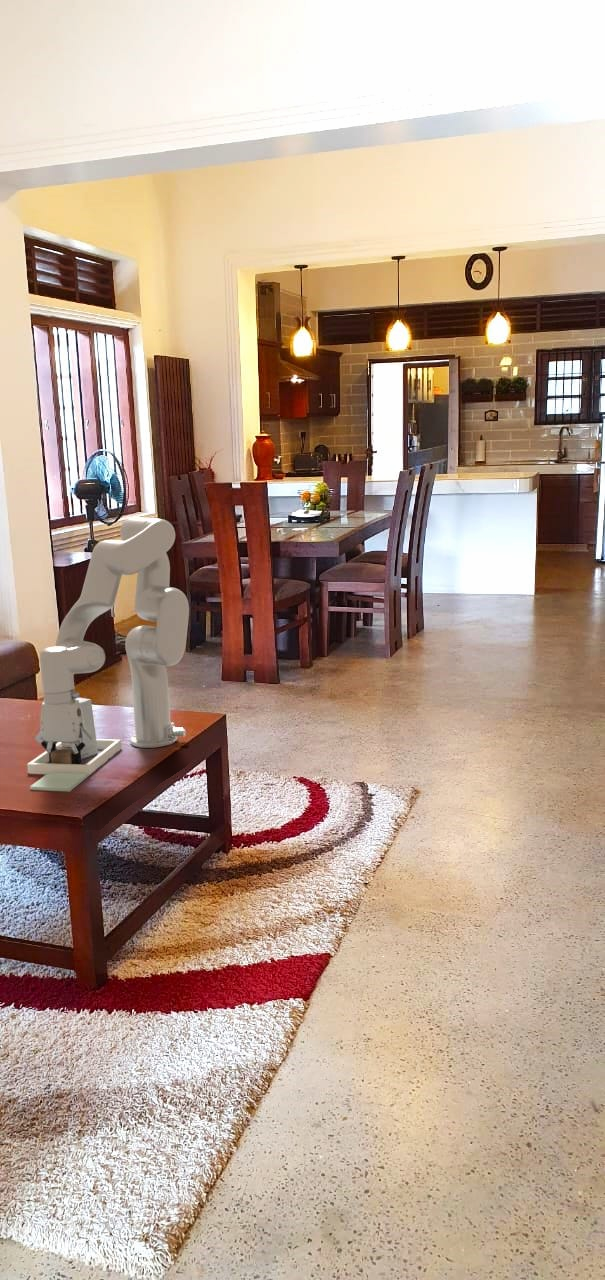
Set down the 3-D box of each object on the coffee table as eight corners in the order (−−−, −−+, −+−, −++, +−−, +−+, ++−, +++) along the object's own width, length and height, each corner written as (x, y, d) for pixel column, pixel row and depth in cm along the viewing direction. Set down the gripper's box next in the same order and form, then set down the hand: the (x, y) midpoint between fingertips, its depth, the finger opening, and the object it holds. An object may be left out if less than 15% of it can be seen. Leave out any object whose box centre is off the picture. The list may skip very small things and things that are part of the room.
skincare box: (98, 754, 249) (93, 699, 246) (79, 760, 245) (74, 704, 242) (79, 748, 255) (74, 694, 252) (60, 754, 250) (54, 699, 247)
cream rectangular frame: (121, 748, 253) (120, 739, 253) (88, 775, 233) (87, 766, 233) (65, 746, 257) (64, 738, 256) (28, 773, 236) (27, 764, 236)
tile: (87, 776, 233) (87, 773, 232) (69, 791, 223) (69, 788, 223) (49, 775, 235) (49, 772, 235) (30, 789, 225) (29, 786, 225)
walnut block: (79, 766, 241) (78, 747, 240) (71, 772, 236) (69, 753, 235) (61, 765, 242) (59, 746, 241) (52, 772, 237) (50, 752, 236)
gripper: (98, 693, 237) (103, 763, 241) (34, 692, 241) (41, 760, 244) (85, 701, 230) (91, 773, 234) (20, 700, 233) (27, 770, 237)
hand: (65, 766), depth 239 cm, fingers open, 5 cm apart
